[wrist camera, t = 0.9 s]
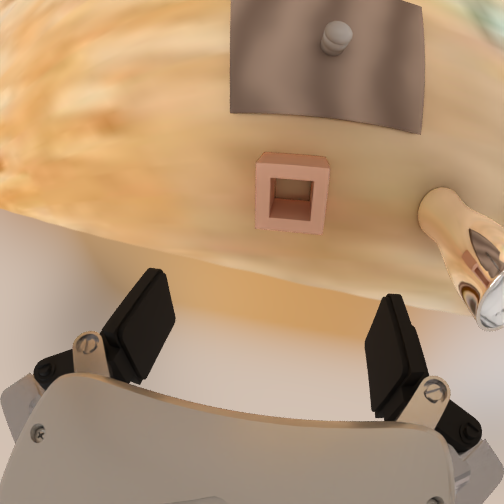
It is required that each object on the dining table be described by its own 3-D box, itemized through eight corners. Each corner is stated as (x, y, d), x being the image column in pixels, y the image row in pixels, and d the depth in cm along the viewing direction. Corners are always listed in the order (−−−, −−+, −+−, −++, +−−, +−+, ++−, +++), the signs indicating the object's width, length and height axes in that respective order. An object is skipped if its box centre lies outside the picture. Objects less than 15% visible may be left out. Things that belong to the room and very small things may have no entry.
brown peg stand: (416, 10, 14) (447, -11, 8) (415, 132, 21) (449, 145, 15) (235, -10, 17) (211, -40, 10) (234, 112, 24) (208, 116, 18)
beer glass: (413, 243, 27) (464, 342, 15) (412, 185, 24) (487, 266, 11) (461, 235, 25) (523, 322, 13) (464, 180, 22) (549, 249, 9)
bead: (325, 157, 25) (330, 168, 20) (319, 213, 28) (322, 235, 24) (264, 152, 25) (255, 162, 21) (263, 207, 29) (255, 228, 24)
